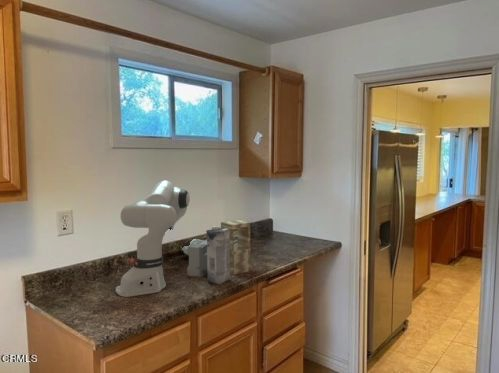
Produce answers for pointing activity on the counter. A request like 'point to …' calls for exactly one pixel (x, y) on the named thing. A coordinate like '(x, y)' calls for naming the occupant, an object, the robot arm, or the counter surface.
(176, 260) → the counter surface
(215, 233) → the juice carton
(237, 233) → the baking soda box
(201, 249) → the circuit breaker
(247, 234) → the birch stool
